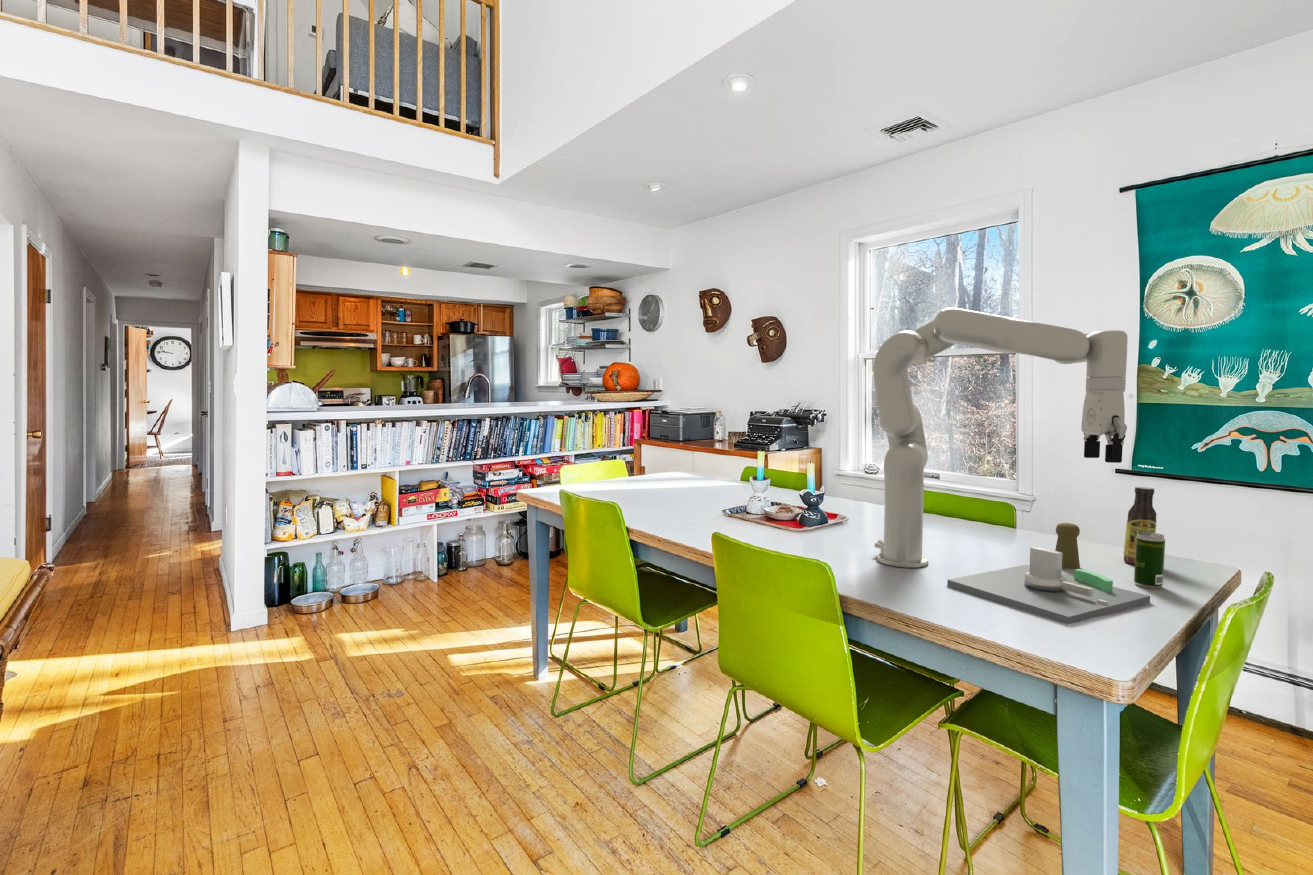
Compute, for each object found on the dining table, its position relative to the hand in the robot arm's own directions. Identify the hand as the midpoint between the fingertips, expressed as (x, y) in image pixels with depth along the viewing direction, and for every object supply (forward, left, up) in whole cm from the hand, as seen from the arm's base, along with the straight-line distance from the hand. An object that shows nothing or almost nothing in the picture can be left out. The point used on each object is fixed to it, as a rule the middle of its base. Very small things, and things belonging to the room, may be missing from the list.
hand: (1102, 460), depth 153 cm
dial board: (-1, -18, -29) cm, 34 cm away
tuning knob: (+2, -18, -27) cm, 33 cm away
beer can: (+6, +9, -29) cm, 31 cm away
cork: (-13, +9, -29) cm, 33 cm away
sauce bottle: (-6, +28, -29) cm, 41 cm away
